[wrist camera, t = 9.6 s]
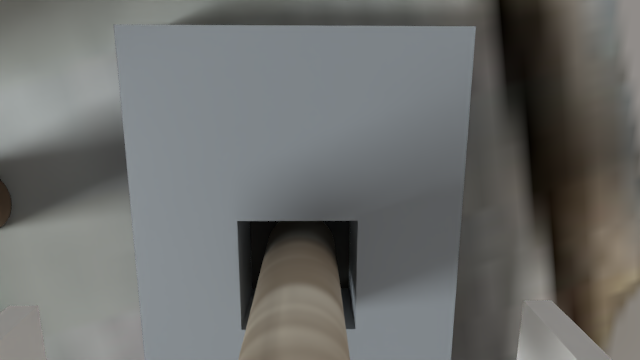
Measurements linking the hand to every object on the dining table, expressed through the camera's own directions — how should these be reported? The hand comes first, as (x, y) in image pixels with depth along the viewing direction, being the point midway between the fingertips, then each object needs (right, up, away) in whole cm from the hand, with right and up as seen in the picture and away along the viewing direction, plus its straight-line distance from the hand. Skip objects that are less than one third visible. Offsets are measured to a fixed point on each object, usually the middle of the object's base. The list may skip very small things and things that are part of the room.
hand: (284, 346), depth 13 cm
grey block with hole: (0, +2, +8) cm, 8 cm away
